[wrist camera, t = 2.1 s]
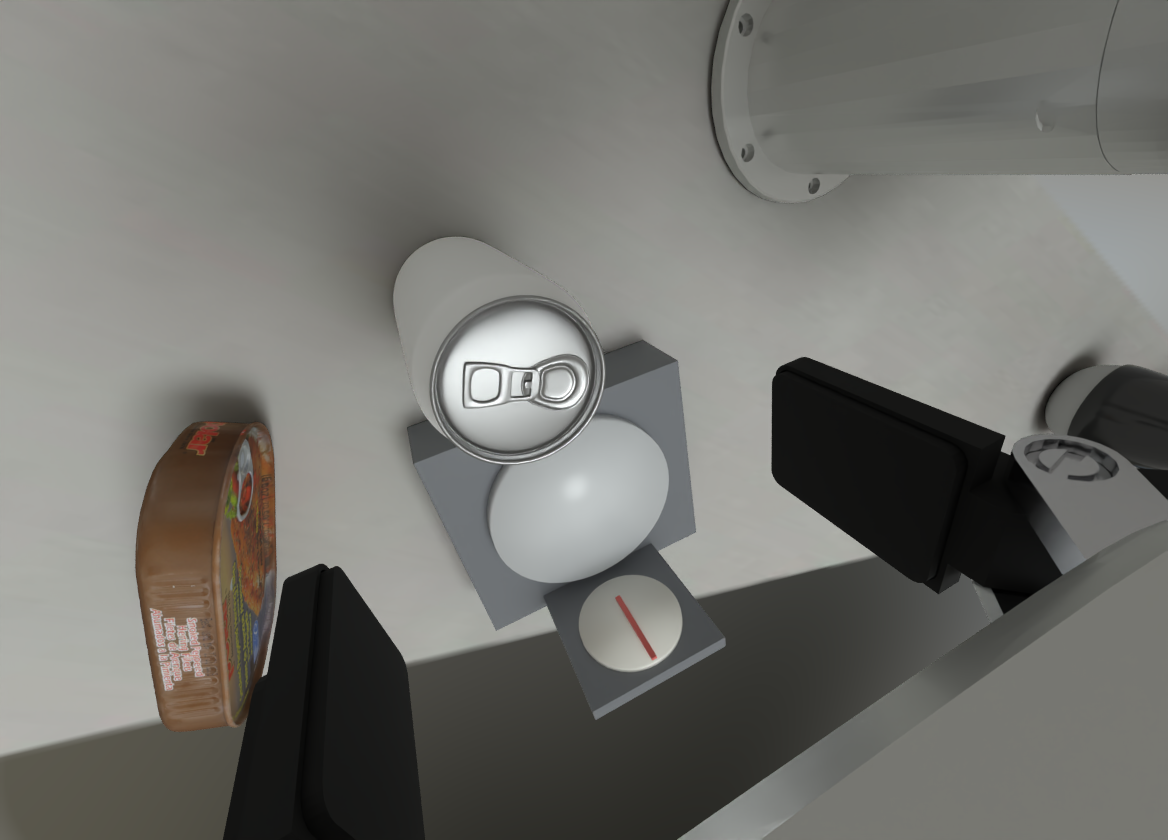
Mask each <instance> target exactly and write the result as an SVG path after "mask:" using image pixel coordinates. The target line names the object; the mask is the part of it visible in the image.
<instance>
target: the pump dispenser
mask: <svg viewBox="0 0 1168 840" xmlns="http://www.w3.org/2000/svg"><path fill="white" fill-rule="evenodd" d="M1045 418H1046V422H1047V425H1048V427H1049V428H1050V430H1051V431H1052V432H1053V433H1054V434H1059V435H1068V436H1073V437H1079V438H1084V439H1087V440H1090V441H1093V442H1096V443H1099V444H1102V445H1104V446H1106V447H1108V448H1110V449H1112V450H1114V451H1116V452H1118V453H1119V454H1120V455H1122V456H1123V457H1124V458H1126V459H1127V460H1128V461H1129V462H1130V463H1131V464H1132V465H1133V466H1135V467H1140V468H1146V469H1159V470H1168V376H1167V375H1164V374H1161V373H1158V372H1156V371H1153V370H1150V369H1146V368H1143V367H1139V366H1135V365H1123V366H1118V365H1100V366H1093V367H1089V368H1085V369H1082V370H1080V371H1078V372H1076V373H1074V374H1072V375H1070V376H1069V377H1067V378H1066V379H1065V380H1064V381H1062V382H1061V383H1060V384H1059V385H1058V387H1057V388H1056V389H1055V390H1054V392H1053V393H1052V395H1051V396H1050V398H1049V400H1048V403H1047V405H1046V411H1045Z"/></svg>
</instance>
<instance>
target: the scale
mask: <svg viewBox="0 0 1168 840" xmlns="http://www.w3.org/2000/svg"><path fill="white" fill-rule="evenodd" d="M604 358H605V366H606V378H605V386H604V391H603V395H602V398H601V401H600V404H599V406H598V409H597V411H596V413H595V414H594V416H593V418H592V419H591V421H590V422H589V424H588V425H587V427H586V428H585V429H584V430H583V431H582V433H581V434H580V435H579V436H578V437H577V438H576V439H575V440H573V441H572V442H571V443H570V444H569V445H567V446H566V447H564V448H563V449H561V450H560V451H558V452H556V453H555V454H553V455H551V456H549V457H546V458H544V459H541V460H538V461H535V462H531V463H526V464H520V465H499V464H492V463H488V462H484V461H481V460H478V459H476V458H474V457H472V456H470V455H468V454H466V453H464V452H463V451H461V450H460V449H459V448H457V447H456V446H455V445H454V444H453V443H452V442H451V441H450V440H449V439H448V438H446V437H445V436H444V435H442V434H441V433H440V432H439V431H438V430H437V429H436V428H435V427H434V426H433V425H432V424H431V423H430V422H429V420H427V421H424V422H421V423H418V424H416V425H413V426H410V427H408V428H407V430H408V435H409V441H410V447H411V452H412V458H413V464H414V466H415V468H416V470H417V472H418V474H419V476H420V478H421V480H422V482H423V484H424V486H425V488H426V490H427V492H428V494H429V496H430V498H431V500H432V502H433V504H434V506H435V508H436V510H437V512H438V514H439V516H440V518H441V520H442V522H443V524H444V526H445V528H446V530H447V532H448V534H449V536H450V538H451V540H452V543H453V545H454V547H455V549H456V551H457V553H458V555H459V557H460V559H461V561H462V563H463V565H464V567H465V569H466V571H467V573H468V575H469V577H470V579H471V581H472V583H473V585H474V587H475V589H476V591H477V593H478V595H479V597H480V599H481V601H482V603H483V605H484V607H485V609H486V611H487V613H488V615H489V617H490V619H491V621H492V623H493V625H494V627H495V629H496V631H497V630H499V629H501V628H503V627H505V626H507V625H509V624H511V623H513V622H515V621H517V620H519V619H521V618H523V617H525V616H527V615H529V614H531V613H533V612H535V611H537V610H539V609H541V608H543V607H545V606H547V607H548V609H549V612H550V614H551V616H552V619H553V621H554V623H555V626H556V628H557V630H558V633H559V635H560V637H561V640H562V642H563V644H564V647H565V649H566V652H567V654H568V656H569V659H570V661H571V663H572V666H573V668H574V670H575V672H576V675H577V677H578V679H579V682H580V684H581V687H582V689H583V691H584V694H585V696H586V698H587V701H588V703H589V705H590V708H591V710H592V712H593V715H594V717H595V719H598V718H600V717H601V716H603V715H605V714H607V713H608V712H610V711H612V710H614V709H616V708H617V707H619V706H621V705H623V704H624V703H626V702H628V701H630V700H631V699H633V698H635V697H637V696H638V695H640V694H642V693H644V692H645V691H647V690H649V689H651V688H652V687H654V686H656V685H658V684H659V683H661V682H663V681H665V680H667V679H668V678H670V677H672V676H674V675H675V674H677V673H679V672H681V671H682V670H684V669H686V668H688V667H689V666H691V665H693V664H695V663H696V662H698V661H700V660H701V659H703V658H705V657H707V656H709V655H710V654H712V653H714V652H716V651H717V650H719V649H721V648H723V647H724V646H725V637H724V635H723V634H722V633H721V632H720V631H719V629H718V628H717V627H716V625H715V624H714V623H713V622H712V620H711V619H710V618H709V616H708V615H707V614H706V612H705V611H704V610H703V609H702V607H701V606H700V605H699V604H698V602H697V601H696V600H695V598H694V597H693V596H692V595H691V593H690V592H689V591H688V589H687V588H686V587H685V586H684V584H683V583H682V582H681V580H680V579H679V578H678V577H677V575H676V574H675V573H674V572H673V570H672V569H671V568H670V566H669V565H668V564H667V563H666V561H665V560H664V559H663V557H662V556H661V555H660V554H659V552H658V551H659V550H661V549H663V548H665V547H667V546H669V545H671V544H673V543H675V542H677V541H679V540H681V539H683V538H685V537H687V536H689V535H691V534H693V533H695V532H696V527H695V518H694V508H693V499H692V490H691V480H690V471H689V461H688V452H687V442H686V433H685V424H684V414H683V405H682V395H681V386H680V377H679V367H678V361H677V360H676V359H674V358H672V357H671V356H669V355H667V354H666V353H664V352H662V351H661V350H659V349H657V348H655V347H654V346H652V345H650V344H649V343H647V342H645V341H644V340H642V341H640V342H637V343H634V344H631V345H629V346H626V347H623V348H621V349H618V350H615V351H613V352H610V353H607V354H605V355H604Z"/></svg>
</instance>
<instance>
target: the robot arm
mask: <svg viewBox="0 0 1168 840" xmlns="http://www.w3.org/2000/svg"><path fill="white" fill-rule="evenodd" d="M711 94H712V114H713V120H714V125H715V130H716V135H717V139H718V142H719V145H720V148H721V150H722V153H723V156H724V158H725V161H726V162H727V164H728V166H729V167H730V169H731V171H732V172H733V174H734V176H735V177H736V178H737V179H738V180H739V181H740V182H741V183H742V184H743V185H744V187H745V188H746V189H747V190H749V191H751V192H752V193H754V194H755V195H757V196H759V197H760V198H763V199H766V200H770V201H773V202H781V203H800V202H808V201H811V200H813V199H816V198H818V197H821V196H824V195H825V194H827V193H828V192H830V191H831V190H833V189H835V188H836V187H838V186H839V185H840V184H841V183H842V182H844V181H845V180H846V179H847V178H848V177H849V176H850V175H851V174H941V175H1131V174H1168V0H730V2H729V5H728V8H727V11H726V14H725V16H724V19H723V22H722V25H721V28H720V31H719V36H718V40H717V45H716V50H715V54H714V60H713V72H712V84H711ZM1004 439H1005V435H1002V434H1000V433H997V432H995V431H992V430H990V429H987V428H984V427H982V426H979V425H977V424H974V423H972V422H969V421H967V420H964V419H962V418H959V417H957V416H954V415H952V414H949V413H947V412H944V411H942V410H939V409H937V408H934V407H931V406H929V405H926V404H924V403H921V402H919V401H916V400H914V399H911V398H909V397H906V396H904V395H901V394H899V393H896V392H894V391H891V390H889V389H886V388H884V387H881V386H878V385H876V384H873V383H871V382H868V381H866V380H863V379H861V378H858V377H856V376H853V375H851V374H848V373H846V372H843V371H841V370H838V369H836V368H833V367H831V366H828V365H825V364H823V363H820V362H818V361H815V360H813V359H810V358H807V357H802V358H799V359H796V360H794V361H792V362H789V363H787V364H785V365H782V366H781V367H779V368H778V370H777V371H776V376H775V377H774V378H773V381H772V474H773V477H774V479H775V480H776V482H777V483H778V484H779V485H780V486H782V487H783V488H785V489H786V490H787V491H789V492H790V493H791V494H793V495H794V496H796V497H797V498H798V499H800V500H801V501H803V502H804V503H805V504H807V505H808V506H809V507H811V508H812V509H814V510H815V511H816V512H818V513H819V514H820V515H822V516H823V517H825V518H826V519H827V520H829V521H830V522H832V523H833V524H834V525H836V526H837V527H838V528H840V529H841V530H843V531H844V532H845V533H847V534H848V535H850V536H851V537H852V538H854V539H855V540H856V541H858V542H859V543H861V544H862V545H863V546H865V547H866V548H868V549H869V550H870V551H872V552H873V553H874V554H876V555H877V556H879V557H880V558H881V559H883V560H884V561H885V562H887V563H888V564H890V565H891V566H892V567H894V568H895V569H897V570H898V571H899V572H901V573H902V574H903V575H905V576H906V577H908V578H909V579H911V580H912V581H915V582H918V583H924V584H925V585H926V586H928V587H929V588H931V589H932V590H933V591H935V592H936V593H938V594H940V593H941V592H943V591H944V590H946V589H947V588H949V587H951V586H952V585H953V584H955V583H957V582H958V581H959V578H960V575H961V573H963V574H964V575H966V576H967V577H969V578H970V579H972V583H973V585H974V587H975V590H976V592H977V594H978V596H979V599H980V601H981V603H982V605H983V608H984V610H985V612H986V615H987V617H988V619H989V621H990V624H989V625H988V626H986V627H985V628H983V629H982V630H980V631H979V632H977V633H976V634H975V635H973V636H972V637H970V638H969V639H967V640H966V641H964V642H963V643H961V644H960V645H958V646H957V647H956V648H954V649H952V650H951V651H950V652H948V653H947V654H945V655H944V656H942V657H941V658H939V659H938V660H936V661H935V662H933V663H932V664H931V665H929V666H928V667H926V668H925V669H923V670H922V671H920V672H919V673H918V674H916V675H915V676H913V677H912V678H910V679H909V680H907V681H906V682H904V683H903V684H901V685H900V686H899V687H897V688H896V689H894V690H893V691H891V692H890V693H888V694H887V695H885V696H884V697H882V698H881V699H880V700H878V701H877V702H875V703H874V704H873V705H871V706H869V707H868V708H867V709H865V710H864V711H862V712H861V713H859V714H858V715H856V716H855V717H854V718H852V719H851V720H849V721H848V722H846V723H845V724H844V725H842V726H840V727H839V728H837V729H836V730H835V731H833V732H832V733H830V734H829V735H827V736H826V737H824V738H823V739H822V740H820V741H819V742H817V743H816V744H814V745H813V746H812V747H810V748H809V749H807V750H806V751H804V752H803V753H801V754H800V755H799V756H797V757H796V758H794V759H793V760H791V761H790V762H788V763H787V764H785V765H784V766H782V767H781V768H780V769H778V770H777V771H775V772H774V773H772V774H771V775H769V776H768V777H767V778H765V779H764V780H762V781H761V782H759V783H758V784H756V785H755V786H754V787H752V788H751V789H749V790H748V791H746V792H745V793H744V794H742V795H741V796H739V797H738V798H736V799H735V800H734V801H732V802H731V803H729V804H728V805H726V806H725V807H724V808H722V809H721V810H719V811H718V812H716V813H715V814H713V815H712V816H711V817H709V818H708V819H706V820H705V821H703V822H702V823H701V824H699V825H698V826H696V827H695V828H693V829H692V830H691V831H689V832H688V833H686V834H685V835H683V836H682V837H680V838H679V839H678V840H1168V470H1159V469H1141V468H1135V467H1134V466H1133V465H1132V464H1131V463H1130V462H1129V461H1128V460H1127V459H1126V458H1124V457H1123V456H1122V455H1120V454H1119V453H1118V452H1116V451H1114V450H1112V449H1110V448H1108V447H1106V446H1104V445H1102V444H1099V443H1096V442H1093V441H1090V440H1087V439H1084V438H1079V437H1073V436H1068V435H1059V434H1039V435H1031V436H1028V437H1024V438H1021V439H1020V440H1019V441H1017V442H1016V443H1014V446H1013V449H1012V452H1011V455H1008V454H1006V453H1003V452H1001V449H1002V445H1003V442H1004ZM223 840H425V834H424V825H423V815H422V806H421V796H420V787H419V777H418V769H417V759H416V749H415V740H414V730H413V720H412V711H411V701H410V692H409V682H408V673H407V668H406V664H405V662H404V659H403V657H402V655H401V653H400V652H399V650H398V649H397V647H396V646H395V644H394V643H393V642H392V640H391V639H390V637H389V636H388V634H387V633H386V632H385V630H384V629H383V627H382V626H381V624H380V623H379V622H378V620H377V619H376V617H375V616H374V614H373V613H372V612H371V610H370V609H369V607H368V606H367V604H366V603H365V602H364V600H363V599H362V597H361V596H360V594H359V593H358V592H357V590H356V589H355V587H354V586H353V584H352V583H351V582H350V580H349V579H348V577H347V576H346V574H345V573H344V572H343V570H342V569H341V568H340V567H338V566H335V567H333V568H331V569H329V568H328V567H327V566H326V565H324V564H319V565H316V566H314V567H312V568H309V569H307V570H305V571H302V572H300V573H298V574H295V575H293V576H291V577H288V578H287V579H286V580H285V581H284V584H283V588H282V594H281V600H280V605H279V611H278V616H277V622H276V628H275V633H274V639H273V645H272V650H271V656H270V661H269V667H268V673H267V675H265V676H263V677H261V678H260V679H259V680H258V682H257V683H256V684H255V687H254V690H253V693H252V697H251V702H250V707H249V712H248V717H247V722H246V727H245V732H244V737H243V742H242V747H241V752H240V757H239V762H238V767H237V772H236V777H235V782H234V787H233V792H232V797H231V802H230V807H229V812H228V817H227V822H226V827H225V832H224V837H223Z"/></svg>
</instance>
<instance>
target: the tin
mask: <svg viewBox="0 0 1168 840" xmlns="http://www.w3.org/2000/svg"><path fill="white" fill-rule="evenodd" d="M135 568H136V579H137V585H138V593H139V598H140V607H141V613H142V619H143V624H144V631H145V637H146V644H147V649H148V655H149V661H150V666H151V672H152V678H153V683H154V689H155V695H156V700H157V706H158V711H159V715H160V718H161V720H162V722H163V724H164V725H165V726H166V728H168V729H169V730H171V731H174V732H184V731H194V730H202V729H208V728H215V727H222V726H231V727H238V726H240V725H242V724H243V723H244V721H245V720H246V718H247V716H248V712H249V707H250V702H251V697H252V693H253V690H254V687H255V684H256V683H257V682H258V680H259V679H260V678H261V677H262V673H263V669H264V664H265V660H266V655H267V650H268V644H269V639H270V634H271V628H272V623H273V617H274V609H275V598H276V527H275V473H274V454H273V448H272V442H271V437H270V434H269V432H268V429H267V428H266V426H265V425H264V424H262V423H260V422H253V423H251V424H247V423H229V422H196V423H192V424H191V425H190V426H189V427H187V428H186V429H185V430H184V431H183V432H182V433H181V434H180V435H179V436H178V437H177V439H176V440H175V441H174V442H173V444H172V445H171V447H170V448H169V450H168V451H167V452H166V453H165V454H164V455H163V457H162V458H161V459H160V460H159V462H158V463H157V465H156V467H155V469H154V471H153V472H152V475H151V478H150V480H149V483H148V486H147V489H146V492H145V496H144V500H143V503H142V507H141V511H140V516H139V522H138V528H137V538H136V565H135Z"/></svg>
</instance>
